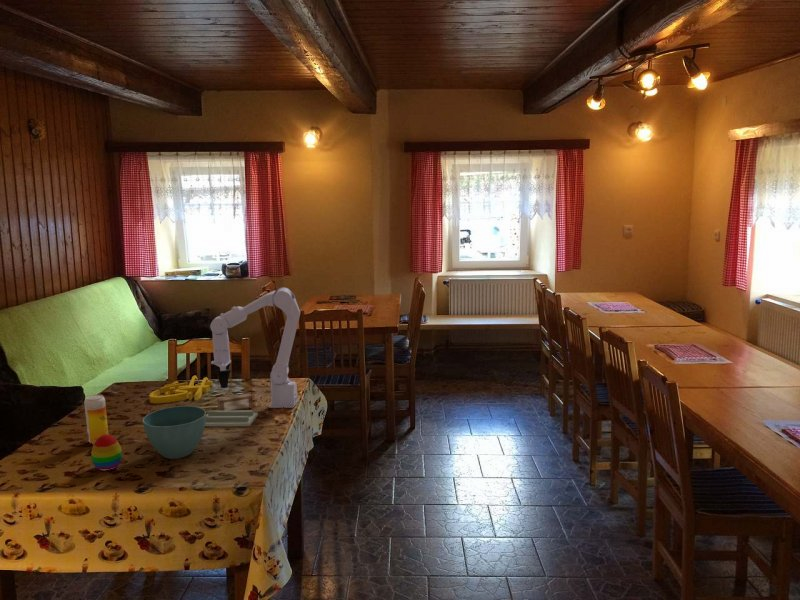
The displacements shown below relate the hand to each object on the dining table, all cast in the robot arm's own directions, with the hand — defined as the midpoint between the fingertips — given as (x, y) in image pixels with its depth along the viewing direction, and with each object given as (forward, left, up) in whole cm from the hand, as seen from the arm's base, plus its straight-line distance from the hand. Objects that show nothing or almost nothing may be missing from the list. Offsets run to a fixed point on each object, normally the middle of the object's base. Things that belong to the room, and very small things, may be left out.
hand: (224, 384), depth 240 cm
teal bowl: (+2, +43, -9) cm, 44 cm away
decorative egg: (+19, +53, -9) cm, 57 cm away
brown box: (-4, +2, -9) cm, 10 cm away
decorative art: (+24, -21, -10) cm, 33 cm away
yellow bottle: (+32, +33, -9) cm, 47 cm away
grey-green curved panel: (-5, +14, -9) cm, 17 cm away
